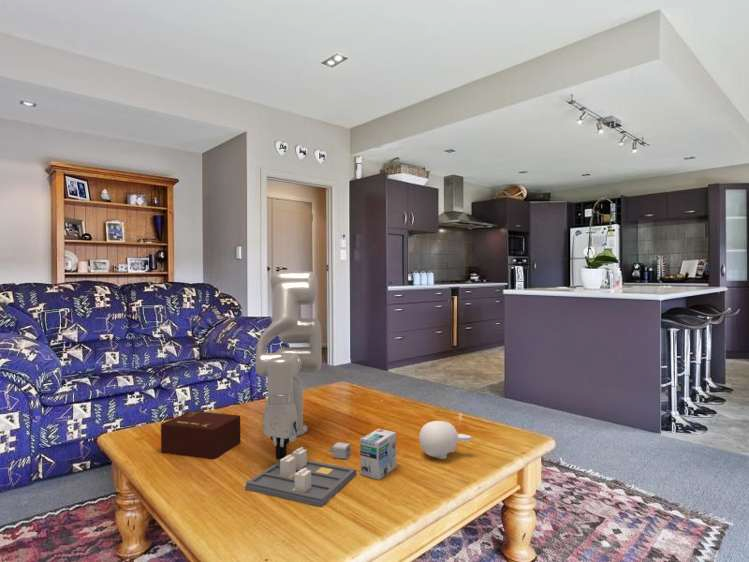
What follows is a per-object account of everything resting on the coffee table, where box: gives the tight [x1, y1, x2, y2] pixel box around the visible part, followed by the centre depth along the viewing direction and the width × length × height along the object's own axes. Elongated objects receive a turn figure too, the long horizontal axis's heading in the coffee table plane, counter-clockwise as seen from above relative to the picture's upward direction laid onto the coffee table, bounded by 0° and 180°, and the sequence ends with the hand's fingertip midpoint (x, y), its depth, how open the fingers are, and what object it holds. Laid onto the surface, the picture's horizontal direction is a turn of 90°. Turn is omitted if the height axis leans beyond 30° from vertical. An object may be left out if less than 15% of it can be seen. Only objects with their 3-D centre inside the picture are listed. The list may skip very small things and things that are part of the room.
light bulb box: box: [359, 428, 397, 481], centre depth 134 cm, size 11×7×11 cm, turn 148°
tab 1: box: [279, 454, 296, 477], centre depth 129 cm, size 3×3×5 cm
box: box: [160, 410, 242, 460], centre depth 154 cm, size 21×16×10 cm
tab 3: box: [295, 468, 311, 493], centre depth 120 cm, size 3×3×5 cm
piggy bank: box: [418, 420, 472, 460], centre depth 145 cm, size 12×12×15 cm
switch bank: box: [244, 459, 357, 508], centre depth 127 cm, size 24×20×2 cm
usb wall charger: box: [326, 442, 352, 460], centre depth 145 cm, size 4×7×4 cm, turn 70°
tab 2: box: [291, 446, 308, 469], centre depth 134 cm, size 3×3×5 cm
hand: (281, 457), depth 137 cm, fingers closed
